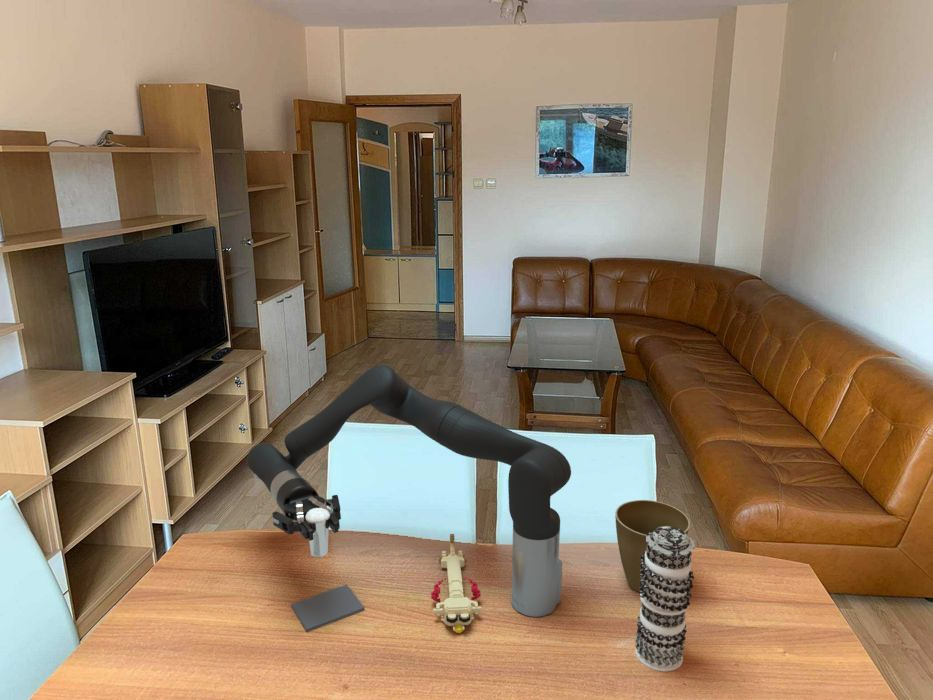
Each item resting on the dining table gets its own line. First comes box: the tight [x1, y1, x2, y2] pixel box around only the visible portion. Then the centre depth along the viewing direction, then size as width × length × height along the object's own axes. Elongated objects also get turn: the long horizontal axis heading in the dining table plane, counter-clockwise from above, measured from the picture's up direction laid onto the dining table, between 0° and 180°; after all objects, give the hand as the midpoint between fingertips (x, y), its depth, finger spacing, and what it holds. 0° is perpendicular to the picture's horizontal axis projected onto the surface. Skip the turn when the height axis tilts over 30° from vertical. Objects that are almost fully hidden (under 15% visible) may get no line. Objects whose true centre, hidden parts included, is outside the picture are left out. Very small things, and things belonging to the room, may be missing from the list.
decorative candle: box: [635, 526, 696, 673], centre depth 120 cm, size 9×9×25 cm
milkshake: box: [305, 507, 334, 558], centre depth 130 cm, size 4×5×10 cm
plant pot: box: [614, 499, 691, 593], centre depth 142 cm, size 15×15×16 cm
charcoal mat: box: [290, 584, 365, 633], centre depth 136 cm, size 12×9×1 cm
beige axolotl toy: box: [430, 533, 482, 634], centre depth 139 cm, size 10×9×25 cm
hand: (324, 531), depth 127 cm, fingers closed on milkshake, 4 cm apart
